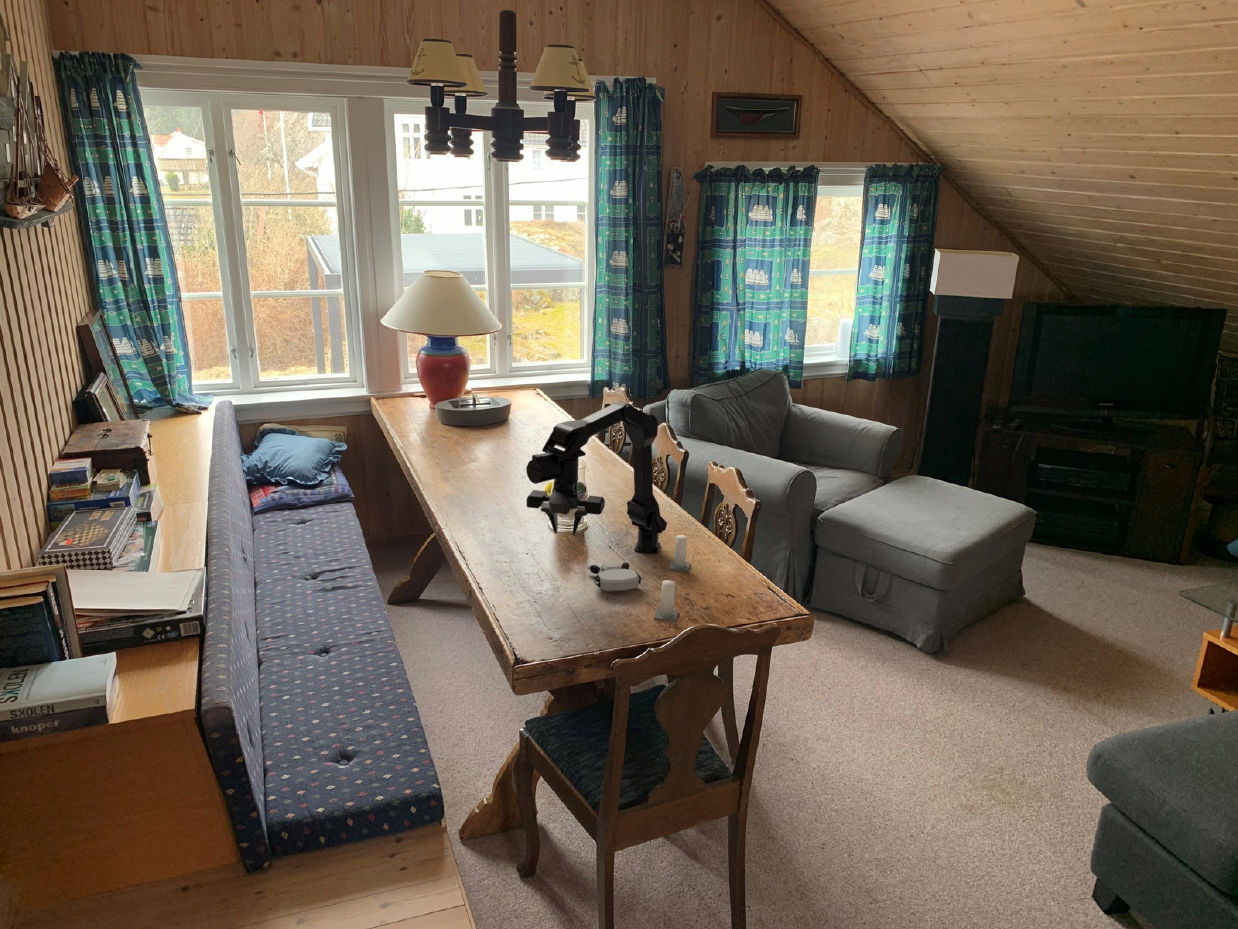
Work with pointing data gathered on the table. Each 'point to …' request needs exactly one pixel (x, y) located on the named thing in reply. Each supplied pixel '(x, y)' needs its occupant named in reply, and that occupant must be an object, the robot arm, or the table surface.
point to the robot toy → (615, 576)
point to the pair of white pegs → (668, 586)
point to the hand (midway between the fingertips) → (565, 534)
